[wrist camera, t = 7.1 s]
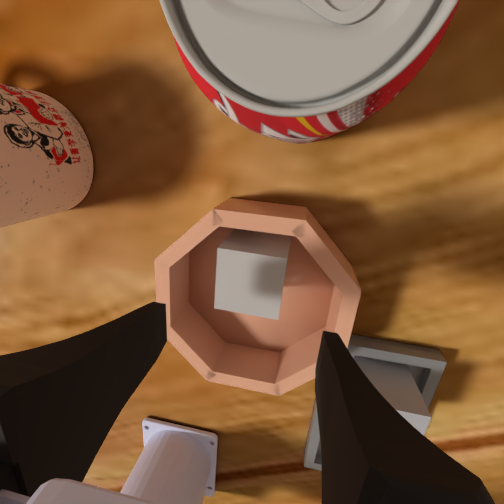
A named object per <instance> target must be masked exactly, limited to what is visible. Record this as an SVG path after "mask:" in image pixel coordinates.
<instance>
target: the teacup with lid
mask: <svg viewBox="0 0 504 504" xmlns="http://www.w3.org/2000/svg"><path fill="white" fill-rule="evenodd" d="M92 179H93V156H92V151H91V147H90V144H89V141H88V139H87V137H86V134H85V132H84V130H83V129H82V127H81V125H80V124H79V122H78V121H77V120H76V118H75V117H74V116H73V115H72V113H71V112H70V111H69V110H68V109H67V108H66V107H64V106H63V105H62V104H61V103H59V102H58V101H57V100H55V99H53V98H52V97H50V96H48V95H46V94H43V93H40V92H37V91H33V90H28V89H23V88H18V87H14V86H9V85H4V84H0V227H4V226H8V225H12V224H16V223H19V222H23V221H27V220H31V219H35V218H39V217H43V216H47V215H50V214H54V213H58V212H62V211H65V210H68V209H71V208H73V207H74V206H76V205H77V204H79V203H80V202H81V201H82V200H83V199H84V197H85V196H86V195H87V193H88V191H89V189H90V186H91V183H92Z"/></svg>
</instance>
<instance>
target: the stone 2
mask: <svg viewBox="0 0 504 504" xmlns="http://www.w3.org/2000/svg"><path fill="white" fill-rule="evenodd" d="M353 358H354V360H355V361H356V363H357V364H358V365H359V367H360V368H361V370H362V371H363V372H364V374H365V375H366V377H367V378H368V379H369V380H370V382H371V383H372V384H373V385H374V387H375V388H376V389H377V390H378V391H379V393H380V394H381V395H382V396H383V397H384V398H385V399H386V400H387V401H388V402H389V403H390V404H391V406H392V407H393V408H394V409H395V410H396V411H397V412H398V413H399V414H400V415H402V416H403V417H404V418H405V419H406V420H407V421H408V422H409V423H410V424H411V425H412V426H413V427H414V428H415V429H417V430H418V431H419V432H420V433H421V434H422V435H424V434H425V432H426V429H427V427H428V425H429V422H430V420H431V418H432V417H431V415H430V413H429V411H428V408H427V406H426V404H425V402H424V400H423V398H422V395H421V393H420V391H419V389H418V387H417V385H416V383H415V380H414V378H413V376H412V374H411V372H410V370H409V368H408V366H407V365H401V364H396V363H391V362H385V361H380V360H374V359H369V358H363V357H358V356H353Z"/></svg>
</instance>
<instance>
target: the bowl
mask: <svg viewBox="0 0 504 504" xmlns="http://www.w3.org/2000/svg"><path fill="white" fill-rule="evenodd" d="M235 228H236V229H243V230H251V231H258V232H266V233H274V234H281V235H289V236H291V242H290V249H289V255H288V262H287V269H286V275H285V282H284V288H283V294H282V300H281V306H280V312H279V318H278V320H275V319H269V318H264V317H259V316H253V315H248V314H242V313H237V312H232V311H226V310H221V309H215V308H214V301H215V283H216V266H217V248H218V247H219V246H220V245H221V243H222V242H223V241H224V240H225V239H226V238H227V237H228V236H229V234H230V233H231V232H232V231H233V230H234V229H235ZM155 282H156V302H158V303H164V304H166V323H167V340H168V341H169V342H170V343H171V344H172V345H173V346H174V347H175V348H176V349H177V350H178V351H179V352H180V353H181V354H182V355H183V356H184V357H185V358H186V359H187V360H188V361H189V363H190V364H191V365H192V366H193V367H194V368H195V369H196V370H197V371H198V372H199V373H200V374H201V375H202V376H203V377H204V378H205V379H206V380H207V381H210V382H215V383H220V384H225V385H229V386H234V387H239V388H244V389H249V390H253V391H258V392H263V393H268V394H272V395H277V396H280V395H282V394H284V393H286V392H288V391H290V390H292V389H294V388H296V387H298V386H300V385H302V384H304V383H306V382H308V381H310V380H312V379H314V378H315V368H316V363H317V358H318V353H319V348H320V343H321V338H322V333H323V331H328V332H334V333H338V334H339V336H340V337H341V339H342V341H343V342H344V344H345V346H346V347H347V348H348V344H349V340H350V336H351V332H352V328H353V324H354V320H355V316H356V312H357V308H358V304H359V300H360V296H361V292H362V291H361V289H360V286H359V283H358V281H357V278H356V276H355V273H354V270H353V268H352V265H351V264H350V263H349V262H348V260H347V259H346V258H345V256H344V255H343V254H342V252H341V251H340V250H339V249H338V247H337V246H336V245H335V243H334V242H333V241H332V240H331V238H330V237H329V236H328V234H327V233H326V232H325V231H324V229H323V228H322V227H321V225H320V224H319V223H318V222H317V220H316V219H315V218H314V216H313V215H312V214H311V212H310V211H309V210H308V209H307V207H304V206H295V205H287V204H278V203H270V202H261V201H252V200H244V199H235V198H229V199H227V200H226V201H224V202H223V203H221V204H220V205H218V206H217V207H215V208H214V209H212V210H211V211H210V212H209V213H208V214H207V215H205V216H204V217H203V218H202V219H201V220H200V221H199V222H197V223H196V224H195V225H194V226H193V227H192V228H191V229H189V230H188V231H187V232H186V233H185V234H184V235H182V236H181V237H180V238H179V239H178V240H177V241H176V242H174V243H173V244H172V245H171V246H170V247H169V248H168V249H166V250H165V251H164V252H163V253H162V254H161V255H159V256H158V257H157V258H156V259H155Z"/></svg>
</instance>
